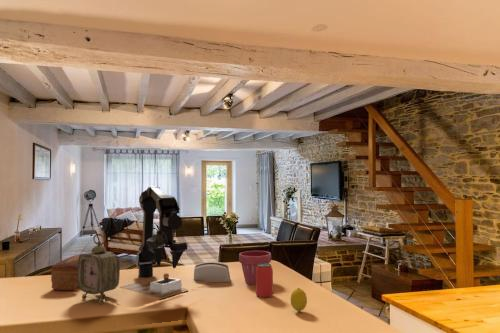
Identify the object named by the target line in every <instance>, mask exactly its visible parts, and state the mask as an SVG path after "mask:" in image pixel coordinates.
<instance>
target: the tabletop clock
mask: <svg viewBox="0 0 500 333" xmlns="http://www.w3.org/2000/svg"><path fill="white" fill-rule="evenodd" d="M97 236H99V237H100V236H101V237H102V239H103V242H101V241H100V240H98V241H96V237H97ZM105 242H106V239H105V236H104V234H102V233H95V234H94V236H93V243H94V244H96V245H95V246H94V247H93V248H92V249H91V252H87V253H80V254H81V255H80V256H79V259H78V286H79V288H78V289H79V290H80V291H81V292H84V293H85V294H83V295H81V299H82V300H85V299H87V295H88V294H90V295H98V294H100V299H99V300H98V304H99V305H102V304H104V299H103V297H106V296H107V295H106V294H105V292H109V291H113V290H115V289H116V288H117V287H118V286H119V284H120V274H121V273H120V266H121V265H120V258H119V256H118V255H117V254H115V253H113V252H110V251H107V249H106V247H105V246H104V244H105Z"/></svg>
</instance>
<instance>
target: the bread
mask: <svg viewBox="0 0 500 333" xmlns="http://www.w3.org/2000/svg"><path fill="white" fill-rule="evenodd" d="M81 254H82V253H80V254H75V255H71V256H70V257H68V258H64V259H63V260H60V261H58V262H57V263H55V264H54V265H52V267H50V272H51V274H50V276H51V277H50V279H51V280H50V281H51V288H52V289H53V290H56V291H73V290H76V289H79V286H78V259H79V256H80V255H81Z"/></svg>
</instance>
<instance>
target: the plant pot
mask: <svg viewBox="0 0 500 333" xmlns="http://www.w3.org/2000/svg"><path fill="white" fill-rule="evenodd" d="M238 260H239V263H240V264H241V267H242V268H241V270H242V273H243V278H244V283H245V284H248V285H256V268H257V265H258V264H261V263H268V264H271V262H272V254H271V252H270V251H266V250H246V251H243V252H239V254H238Z"/></svg>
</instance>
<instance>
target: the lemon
mask: <svg viewBox="0 0 500 333" xmlns="http://www.w3.org/2000/svg"><path fill="white" fill-rule="evenodd" d="M307 304H308V297H307V294H306V292H305V291H304V290H303V289H301V288H300V287H297V288H295V289H294V290H293V291H292V292H291V294H290V305H291V307H292V308H293V309H294V310H295V311H297V312H298V313H300V312H301V311H302V310H305V308H306V307H307Z"/></svg>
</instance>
